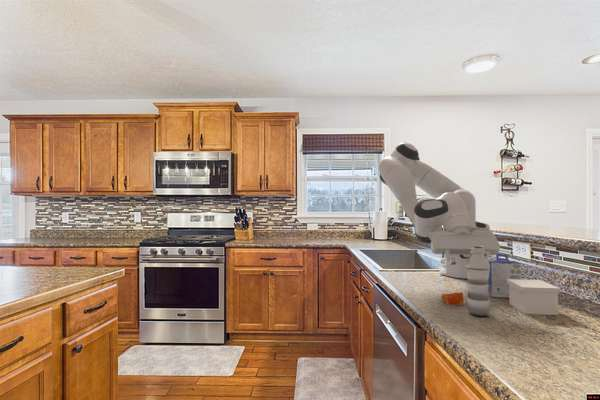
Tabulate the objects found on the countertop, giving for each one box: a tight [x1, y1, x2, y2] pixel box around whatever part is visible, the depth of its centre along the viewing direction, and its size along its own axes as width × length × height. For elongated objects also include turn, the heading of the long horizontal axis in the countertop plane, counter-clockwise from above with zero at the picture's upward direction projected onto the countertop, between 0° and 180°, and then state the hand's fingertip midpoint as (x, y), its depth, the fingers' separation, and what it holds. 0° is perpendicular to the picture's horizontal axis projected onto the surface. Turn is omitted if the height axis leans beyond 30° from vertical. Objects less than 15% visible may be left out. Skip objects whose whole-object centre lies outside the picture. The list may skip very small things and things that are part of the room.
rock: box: [440, 292, 465, 306], centre depth 105 cm, size 12×12×4 cm
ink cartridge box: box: [488, 253, 523, 299], centre depth 111 cm, size 10×6×14 cm, turn 78°
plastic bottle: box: [465, 246, 492, 317], centre depth 93 cm, size 6×7×20 cm
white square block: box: [507, 279, 562, 316], centre depth 97 cm, size 10×10×8 cm
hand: (469, 264), depth 97 cm, fingers open, 8 cm apart
